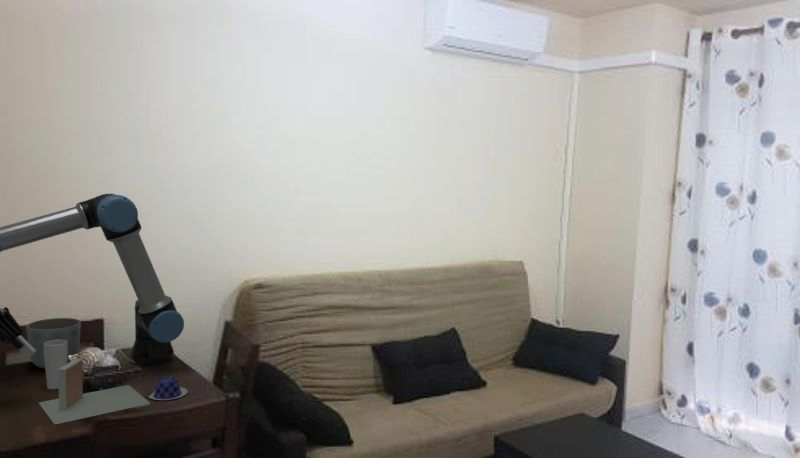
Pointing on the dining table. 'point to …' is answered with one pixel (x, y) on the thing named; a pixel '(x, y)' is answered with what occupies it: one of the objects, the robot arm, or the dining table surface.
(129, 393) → the rubber mat
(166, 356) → the robot arm
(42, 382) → the dining table surface
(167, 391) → the pudding
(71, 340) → the planter
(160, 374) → the dining table surface
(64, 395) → the ceramic tile
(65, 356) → the drinking glass
